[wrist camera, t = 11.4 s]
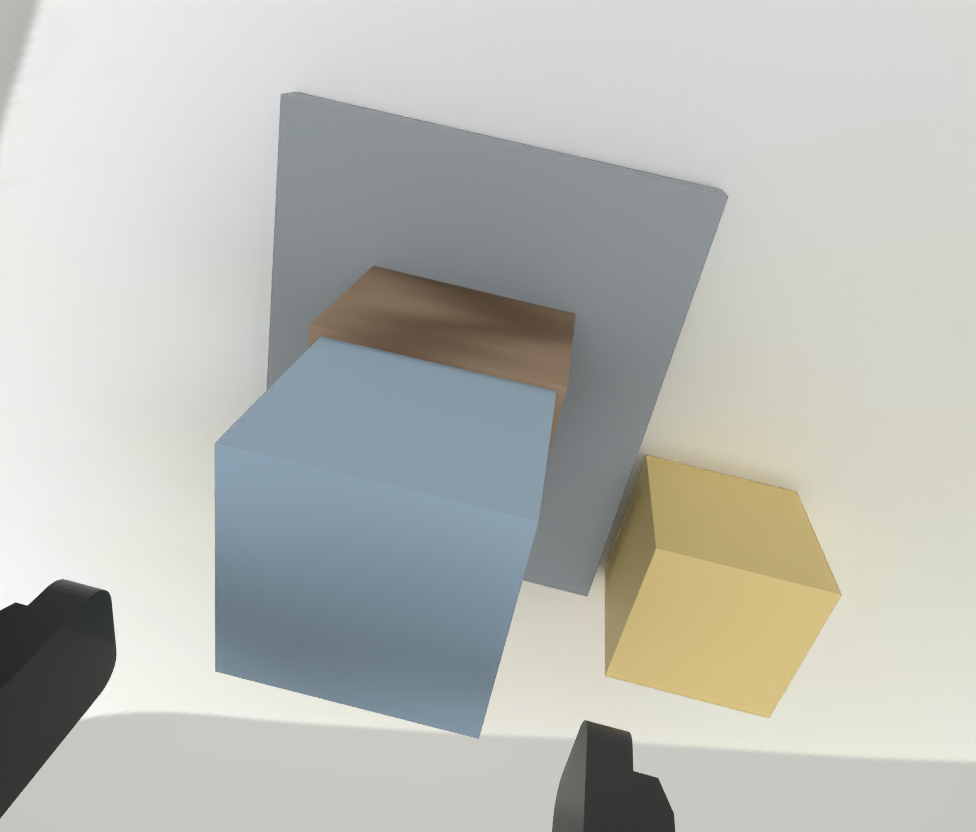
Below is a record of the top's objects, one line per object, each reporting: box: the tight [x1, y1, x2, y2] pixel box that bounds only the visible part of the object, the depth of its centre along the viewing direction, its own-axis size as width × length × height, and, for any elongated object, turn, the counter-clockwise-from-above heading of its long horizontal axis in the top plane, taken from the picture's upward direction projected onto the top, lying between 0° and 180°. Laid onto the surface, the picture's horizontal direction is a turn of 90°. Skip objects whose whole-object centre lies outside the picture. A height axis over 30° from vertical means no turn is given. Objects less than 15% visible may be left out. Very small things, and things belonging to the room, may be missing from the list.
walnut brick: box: [308, 266, 576, 459], centre depth 19 cm, size 6×6×5 cm
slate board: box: [267, 92, 728, 596], centre depth 22 cm, size 12×14×1 cm
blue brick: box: [215, 336, 557, 738], centre depth 15 cm, size 6×6×5 cm
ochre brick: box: [605, 455, 842, 718], centre depth 22 cm, size 5×5×5 cm
